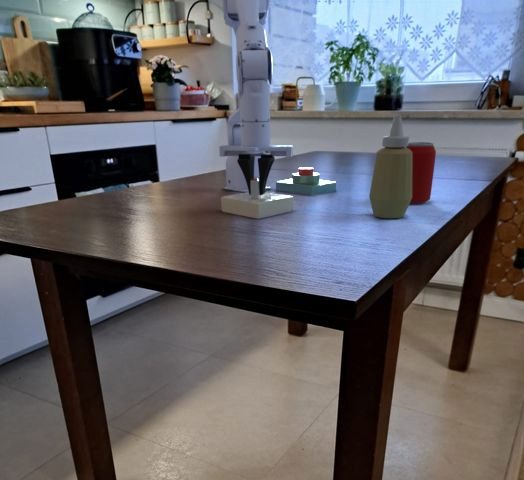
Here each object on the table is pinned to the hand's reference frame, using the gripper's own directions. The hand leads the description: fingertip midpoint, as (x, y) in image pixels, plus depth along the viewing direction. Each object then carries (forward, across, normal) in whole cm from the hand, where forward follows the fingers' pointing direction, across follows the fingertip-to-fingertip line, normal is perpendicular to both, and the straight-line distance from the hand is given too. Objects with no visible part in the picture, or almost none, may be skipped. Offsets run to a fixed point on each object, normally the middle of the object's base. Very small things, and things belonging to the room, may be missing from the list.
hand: (256, 194), depth 106 cm
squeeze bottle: (+4, +27, -1) cm, 27 cm away
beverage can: (+4, +32, +15) cm, 35 cm away
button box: (+3, +6, +26) cm, 27 cm away
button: (0, +6, +26) cm, 27 cm away
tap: (0, 0, 0) cm, 0 cm away
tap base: (+3, 0, 0) cm, 3 cm away
